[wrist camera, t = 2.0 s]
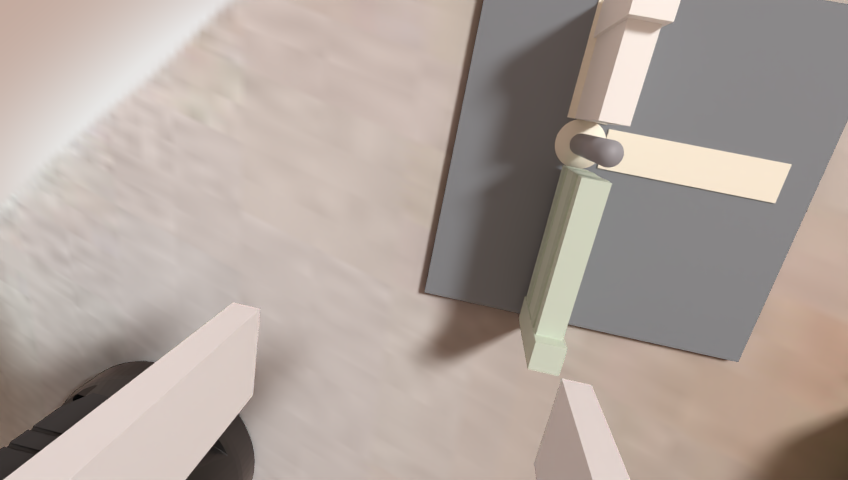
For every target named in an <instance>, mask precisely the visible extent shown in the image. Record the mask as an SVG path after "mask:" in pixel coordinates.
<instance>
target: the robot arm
mask: <svg viewBox="0 0 848 480" xmlns="http://www.w3.org/2000/svg"><path fill="white" fill-rule="evenodd" d="M259 320H260V308H255V307H251V306H247V305H242V304H238V303H234V302H233V303H232V304H230V305H229V306H228V307H226V308H225V309H224V310H223V311H221V312H220V313H219V314H217V315H216V316H215V317H214V318H212V319H211V320H210V321H208V322H207V323H206V324H204V325H203V326H202V327H201V328H199V329H198V330H197V331H195V332H194V333H193V334H191V335H190V336H189V337H188V338H186V339H185V340H184V341H182V342H181V343H180V344H179V345H177V346H176V347H175V348H173V349H172V350H171V351H169V352H168V353H167V354H166V355H164V356H163V357H162V358H160V359H159V360H158V361H156V362H155V363H154V362H130V363H124V364H120V365H117V366H114V367H111V368H109V369H107V370H105V371H103V372H102V373H100V374H99V375H98V376H96V377H95V378H93V379H92V380H90V381H89V382H87V383H86V384H85V385H83V386H82V387H80V388H79V389H78V390H76V391H75V392H74V393H73V394H72V395H71V396H70V397H69V398H68V399H67V400H66V401H65V403H64V404H63V405H62V406H61V407H60V408H58V409H57V410H55V411H54V412H53V413H51V414H50V415H48V416H47V417H45V418H44V419H43V420H41V421H40V422H38V423H37V424H35V425H34V426H33V429H32V430H27V431H26V432H24V433H23V434H21V435H20V436H18V437H17V438H16V439H14V440H13V441H11V442H10V444H9V446H8V447H3V448H1V449H0V480H252V478H253V473H254V451H253V446H252V442H251V439H250V436H249V434H248V431H247V429H246V427H245V425H244V423H243V421H242V420H241V418H240V417H239V415H238V414H239V412H240V411H241V410H242V409H243V407H244V406H245V405H246V404H247V402H248V401H249V400H250V399H251V397H252V396H253V390H254V378H255V367H256V355H257V343H258V331H259ZM534 467H535V474H536V480H630V478H629V476H628V473H627V471H626V468H625V466H624V463H623V461H622V458H621V456H620V453H619V451H618V449H617V446H616V444H615V441H614V439H613V436H612V434H611V431H610V429H609V426H608V424H607V421H606V419H605V417H604V414H603V412H602V409H601V407H600V404H599V402H598V399H597V397H596V394H595V392H594V389H593V387H592V385H589V384H585V383H580V382H576V381H572V380H567V379H563V378H562V379H561V382H560V385H559V388H558V391H557V394H556V397H555V400H554V404H553V407H552V410H551V413H550V416H549V419H548V422H547V425H546V428H545V431H544V435H543V438H542V441H541V444H540V447H539V450H538V453H537V456H536V459H535V462H534Z"/></svg>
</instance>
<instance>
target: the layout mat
mask: <svg viewBox="0 0 848 480" xmlns="http://www.w3.org/2000/svg"><path fill="white" fill-rule="evenodd" d="M602 3H603V0H484V1H483V6H482V11H481V16H480V21H479V26H478V31H477V36H476V41H475V46H474V50H473V55H472V60H471V65H470V70H469V75H468V80H467V85H466V90H465V95H464V100H463V105H462V110H461V115H460V120H459V125H458V130H457V134H456V139H455V144H454V149H453V154H452V159H451V164H450V169H449V174H448V179H447V184H446V189H445V194H444V199H443V204H442V209H441V214H440V218H439V223H438V228H437V233H436V238H435V243H434V248H433V253H432V258H431V263H430V268H429V273H428V278H427V283H426V288H425V293H430V294H434V295H439V296H443V297H448V298H452V299H457V300H461V301H466V302H470V303H475V304H479V305H484V306H488V307H493V308H497V309H502V310H506V311H511V312H515V313H520V312H521V308H522V305H523V301H524V297H525V296H527V292H528V289H529V285H530V282H531V278H532V274H533V271H534V267H535V264H536V260H537V256H538V253H539V249H540V246H541V242H542V238H543V235H544V231H545V228H546V224H547V220H548V217H549V213H550V210H551V206H552V202H553V199H554V195H555V191H556V188H557V184H558V181H559V177H560V173H561V170H562V166H563V165H565V166H570V167H575V168H580V169H585V170H588V171H590V172H593V173H595V174H596V175H597V176H599V177H601V178H603V179H606V180H608V181H610V183H612V185H611V189H610V192H609V195H608V198H607V201H606V205H605V208H604V211H603V214H602V217H601V221H600V224H599V227H598V230H597V233H596V236H595V240H594V243H593V246H592V249H591V252H590V256H589V259H588V262H587V265H586V268H585V272H584V275H583V278H582V281H581V284H580V287H579V291H578V294H577V297H576V300H575V303H574V307H573V310H572V313H571V316H570V319H569V323H568V324H569V325H574V326H578V327H583V328H587V329H592V330H596V331H601V332H605V333H610V334H614V335H619V336H623V337H628V338H632V339H636V340H641V341H645V342H650V343H654V344H659V345H663V346H668V347H672V348H677V349H681V350H686V351H690V352H695V353H699V354H704V355H708V356H713V357H717V358H722V359H726V360H731V361H735V362H738V361H739V359H740V357H741V355H742V353H743V350H744V348H745V346H746V344H747V341H748V339H749V337H750V335H751V333H752V330H753V328H754V326H755V324H756V322H757V319H758V317H759V315H760V313H761V311H762V308H763V306H764V304H765V302H766V300H767V297H768V295H769V293H770V291H771V288H772V286H773V284H774V282H775V280H776V277H777V275H778V273H779V271H780V269H781V266H782V264H783V262H784V260H785V258H786V255H787V253H788V251H789V249H790V247H791V244H792V242H793V240H794V238H795V235H796V233H797V231H798V229H799V227H800V224H801V222H802V220H803V218H804V216H805V213H806V211H807V209H808V207H809V205H810V202H811V200H812V198H813V196H814V194H815V191H816V189H817V187H818V185H819V182H820V180H821V178H822V176H823V174H824V171H825V169H826V167H827V165H828V163H829V160H830V158H831V156H832V154H833V152H834V149H835V147H836V145H837V143H838V141H839V138H840V136H841V134H842V132H843V129H844V127H845V125H846V123H847V121H848V4H843V3H837V2H831V1H826V0H681V1H680V4H679V7H678V11H677V14H676V17H675V20H674V22H672V23H670V24H668V25H666V26H664V27H662V28H661V29H660V32H659V36H658V39H657V42H656V45H655V48H654V52H653V55H652V58H651V61H650V64H649V67H648V71H647V74H646V77H645V80H644V83H643V87H642V90H641V93H640V96H639V99H638V103H637V106H636V109H635V112H634V115H633V119H632V122H631V125H630V126H621V125H611V124H601V123H595V122H590V121H585V120H580V119H575V115H576V112H577V108H578V104H579V101H580V97H581V94H582V90H583V86H584V83H585V79H586V75H587V72H588V68H589V65H590V61H591V57H592V54H593V50H594V47H595V43H596V39H597V38H594V37H593V36H594V32H595V29H596V25H597V21H598V18H599V14H600V10H601V7H602ZM580 133H583V134H588V135H592V136H597V137H602V138H606V139H611V140H615V141H618V142H619V143H620V144H621V145H622V146H623V149H624V156H623V159H622V160H621V162H620V163H619V164H618V165H616V166H614V167H610V168H607V167H603V166H601V165H598V164H596V163H594V162H592V161H589V160H587V159H585V158H583V157H581V156H578V155H576V154H574V153H573V152H572V151H571V149H570V141H571V139H572V138H573V137H574V136H575V135H577V134H580Z"/></svg>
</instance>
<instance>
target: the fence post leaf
mask: <svg viewBox="0 0 848 480" xmlns="http://www.w3.org/2000/svg"><path fill="white" fill-rule="evenodd" d="M680 1H681V0H603V3H602V7H601V10H600V14H599V18H598V21H597V25H596V29H595V32H594V36H593V37H594V38H597V39H596V43H595V47H594V50H593V54H592V57H591V61H590V65H589V68H588V72H587V75H586V79H585V83H584V86H583V90H582V94H581V97H580V101H579V104H578V108H577V112H576V115H575V119H580V120H585V121H590V122H595V123H601V124H611V125H621V126H630V125H631V122H632V119H633V115H634V112H635V109H636V106H637V103H638V99H639V96H640V93H641V90H642V87H643V83H644V80H645V77H646V74H647V71H648V67H649V64H650V61H651V58H652V55H653V52H654V48H655V45H656V42H657V39H658V36H659V32H660V29H661V28H662V27H664V26H666V25H668V24H670V23H672V22H674V20H675V17H676V14H677V11H678V7H679V4H680ZM570 149H571V151H572V152H573V153H574V154H576V155H578V156H581V157H583V158H585V159H587V160H589V161H592V162H594V163H596V164H598V165H601V166H603V167H607V168H610V167H614V166H616V165H618V164H619V163H620V162H621V160H622V159H623V156H624V149H623V146H622V145H621V144H620V143H619V142H618V141H615V140H611V139H606V138H602V137H597V136H592V135H588V134H583V133H580V134H577V135H575V136H574V137H573V138H572V139H571V141H570Z"/></svg>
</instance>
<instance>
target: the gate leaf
mask: <svg viewBox="0 0 848 480" xmlns="http://www.w3.org/2000/svg"><path fill="white" fill-rule="evenodd" d="M611 185H612V183H610V181H608V180H606V179H603V178H601V177H599V176H597V175H596V174H595V173H593V172H590V171H588V170H585V169H580V168H575V167H570V166H565V165H563V166H562V170H561V173H560V177H559V181H558V184H557V188H556V191H555V195H554V199H553V202H552V206H551V210H550V213H549V217H548V220H547V224H546V228H545V231H544V235H543V238H542V242H541V246H540V249H539V253H538V256H537V260H536V264H535V267H534V271H533V274H532V278H531V282H530V285H529V289H528V292H527V296H525V297H524V301H523V305H522V308H521V312H520V315H519V324H520V330H521V335H522V340H523V346H524V351H525V357H526V362H527V368H528V369H529V370H534V371H538V372H542V373H547V374H551V375H556V376H559V374H560V371H561V368H562V365H563V362H564V359H565V356H566V353H567V346H566V343H565V340H564V335H565V332H566V329H567V326H568V323H569V319H570V316H571V313H572V310H573V307H574V303H575V300H576V297H577V294H578V291H579V287H580V284H581V281H582V278H583V275H584V272H585V268H586V265H587V262H588V259H589V256H590V252H591V249H592V246H593V243H594V240H595V236H596V233H597V230H598V227H599V224H600V221H601V217H602V214H603V211H604V208H605V205H606V201H607V198H608V195H609V192H610V189H611Z"/></svg>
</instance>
